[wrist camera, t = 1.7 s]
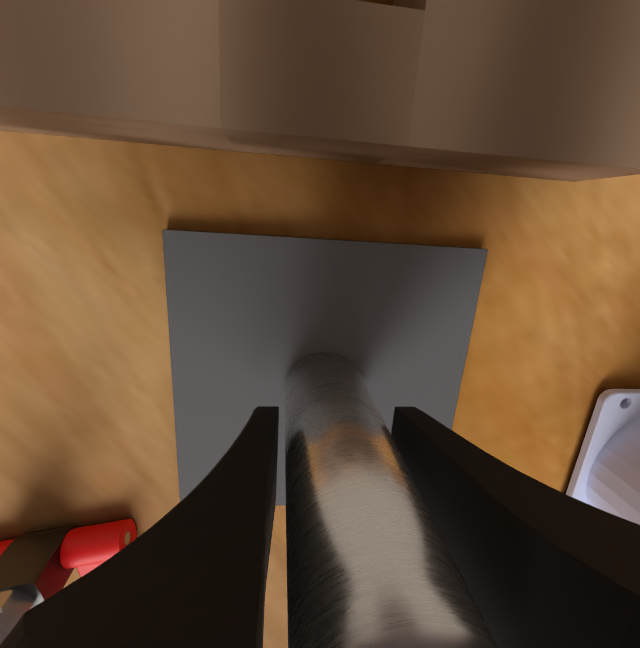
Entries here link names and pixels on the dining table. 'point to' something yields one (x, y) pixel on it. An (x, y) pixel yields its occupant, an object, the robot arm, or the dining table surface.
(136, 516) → the dining table surface
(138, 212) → the dining table surface
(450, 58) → the hole block
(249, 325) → the mat
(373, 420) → the peg
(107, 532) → the tow hook
